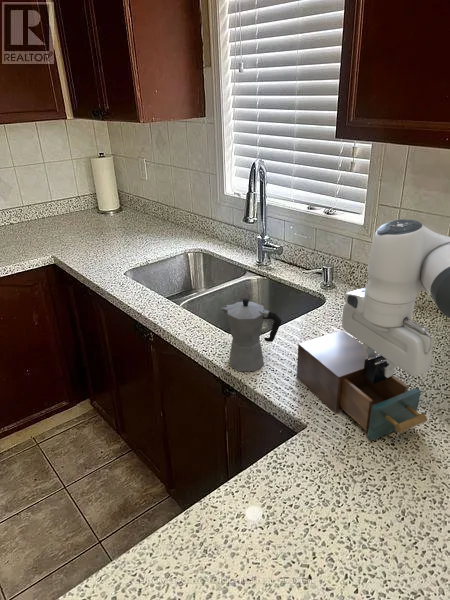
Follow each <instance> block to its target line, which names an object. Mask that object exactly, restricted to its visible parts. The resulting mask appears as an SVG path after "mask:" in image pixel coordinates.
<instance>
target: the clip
mask: <svg viewBox="0 0 450 600" xmlns="http://www.w3.org/2000/svg"><path fill="white" fill-rule="evenodd" d="M387 365H389V364H388V363H387V359H386V358H384V357H383V356H382V355H380V354H377V356H374V357H371V358H368V359H365V364H364V371H363V376H364V377H365V378H366V379H367V380H369V381H370V382H371V383H373V384H375V383H377V382H380V381H383V380H385V379H388V378H391V377H393V375H394V374H393V375H392V376H391V377H388V378H387V377H385V376H384V375H383V374H381V371H382V367H384V366H387Z"/></svg>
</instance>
